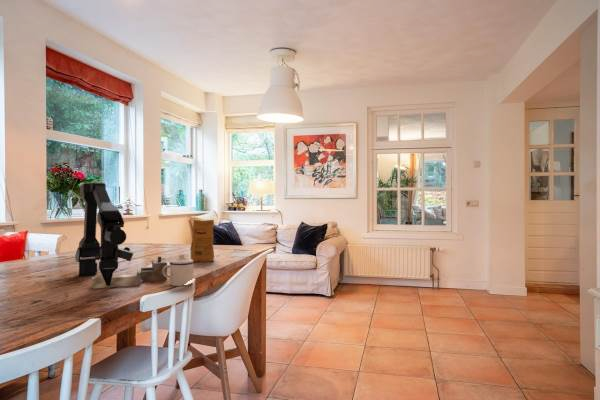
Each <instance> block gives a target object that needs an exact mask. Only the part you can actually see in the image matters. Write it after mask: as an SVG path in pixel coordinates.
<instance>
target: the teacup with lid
mask: <svg viewBox="0 0 600 400" xmlns="http://www.w3.org/2000/svg"><path fill="white" fill-rule="evenodd" d="M169 261H170V265H166V266H164V267H163V274H164V276H165V277H167V279H169V285H170V286H173V287H183V286H182V285H184V284H186V283H187V282H188V281H190V280H192V279H193V280H194V263H195V262H193V260H192V259H191V258H189V257H188V256H185V254H184V253H180V254H178V256H177V257H176V258H173V259H170V260H169ZM166 267H168V268H169V271H170V272H169V275H168V273H167V274H166V273H165V268H166Z"/></svg>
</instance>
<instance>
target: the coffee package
mask: <svg viewBox="0 0 600 400" xmlns="http://www.w3.org/2000/svg"><path fill="white" fill-rule="evenodd" d="M192 225H193V226H192V242H191V244H190V259H192V260H193V262H194V263H195V262H196V263H197V262H201V263H205V262H206V263H207V262H209V263H210V262H213V261H214V259H215V252H214V225H215V221H214V219H209V220H208V219H206V220H201V219H193V224H192Z"/></svg>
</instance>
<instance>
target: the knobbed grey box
mask: <svg viewBox="0 0 600 400" xmlns="http://www.w3.org/2000/svg"><path fill="white" fill-rule="evenodd" d="M161 259H162V256H160V255H159V256H157V259H152V260H151V263H152V267H147V268H145V267H140V270H141V283H142V282H152V281H166V280H168V278H167V277H165V276H164V274H163V267H164V266H166V265H167V262H166V261H167V260H166V258H163V259H162V260H161ZM165 273H166V274H167V275H168V268H167V267H166V268H165Z"/></svg>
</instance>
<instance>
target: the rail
mask: <svg viewBox="0 0 600 400" xmlns="http://www.w3.org/2000/svg"><path fill="white" fill-rule="evenodd" d="M136 273H137V274H135V273H133V274H122V275H121V274H118V275H112V279H111V284H110V286H107V285H106V283H105V280H104V278H103V276H93V277H91V289H92V288H93V289H104V288H105V287H106V288H115V287H128V286H141V285H142V278H141V271H140V270H136Z"/></svg>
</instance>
